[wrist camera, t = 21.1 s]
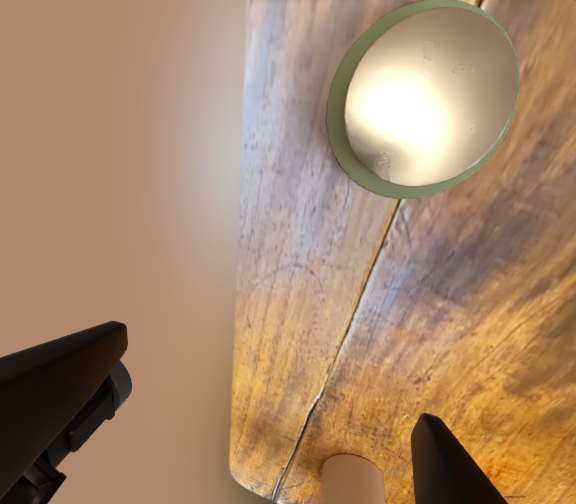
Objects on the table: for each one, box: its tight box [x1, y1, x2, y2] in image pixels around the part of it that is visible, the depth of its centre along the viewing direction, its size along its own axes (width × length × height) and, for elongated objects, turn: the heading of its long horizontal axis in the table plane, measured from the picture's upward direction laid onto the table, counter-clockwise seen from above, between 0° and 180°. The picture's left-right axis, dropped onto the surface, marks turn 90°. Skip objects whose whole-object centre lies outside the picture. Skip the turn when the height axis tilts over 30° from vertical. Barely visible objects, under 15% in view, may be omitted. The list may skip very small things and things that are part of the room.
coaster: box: [327, 0, 520, 199], centre depth 14 cm, size 9×9×1 cm
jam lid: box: [344, 7, 518, 187], centre depth 13 cm, size 7×7×2 cm
